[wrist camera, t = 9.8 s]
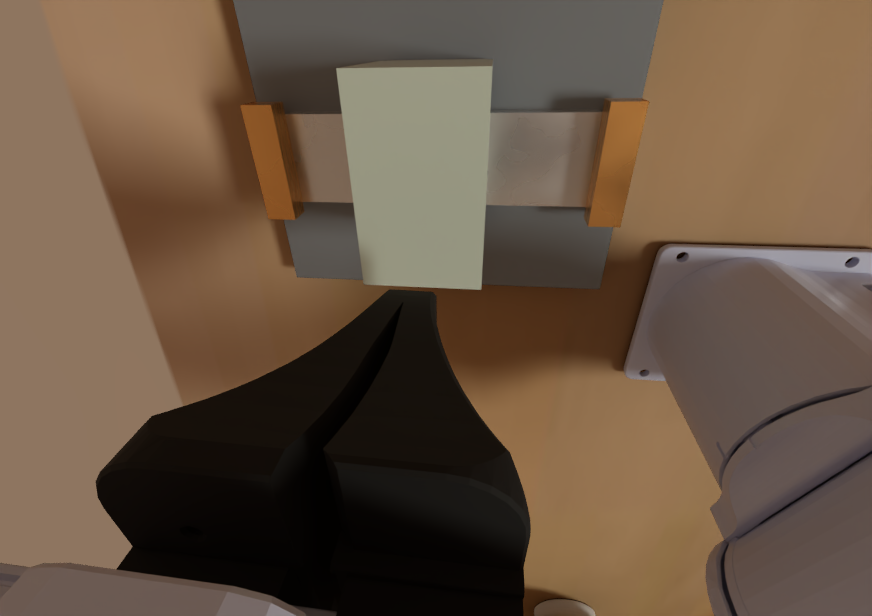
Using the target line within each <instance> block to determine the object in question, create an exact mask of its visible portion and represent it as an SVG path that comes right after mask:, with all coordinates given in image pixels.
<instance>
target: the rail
mask: <svg viewBox="0 0 872 616" xmlns="http://www.w3.org/2000/svg"><path fill="white" fill-rule="evenodd" d="M648 104H649V101H647V100H644V99H642V98H605V100H604V106H603V111H602V112H601V111H600V110H598V109H556V110H491V112H490V132H489V152H488V172H487V192H486V205H510V206H565V207H585V212H584V219H585V221H586V223H587V225H588V227H620V226H621V221H622V217H623V213H624V208H625V204H626V200H627V195H628V191H629V187H630V182H631V178H632V174H633V169H634V165H635V161H636V156H637V152H638V148H639V143H640V139H641V135H642V130H643V126H644V122H645V117H646V113H647V109H648ZM240 107H241V111H242V115H243V119H244V123H245V127H246V131H247V135H248V139H249V143H250V147H251V151H252V154H253V158H254V162H255V166H256V170H257V174H258V178H259V182H260V186H261V190H262V194H263V198H264V202H265V206H266V210H267V214H268V218H269V219H283V220H296V219H297V218H298V217H299V216H300V215H301V214H303V213H304V212H305V211H304V206H303V202H344V203H353V197H352V189H351V181H350V173H349V165H348V157H347V150H346V142H345V134H344V126H343V118H342V111H293V112H291V113H288V114H285V111H284V106H283V102H251V103H247V104H243V105H240Z"/></svg>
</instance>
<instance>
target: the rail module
mask: <svg viewBox="0 0 872 616" xmlns="http://www.w3.org/2000/svg"><path fill="white" fill-rule="evenodd" d="M336 71H337V79H338V87H339V95H340V103H341V110H342V118H343V126H344V134H345V142H346V150H347V157H348V165H349V173H350V181H351V189H352V197H353V204H354V212H355V220H356V228H357V236H358V244H359V252H360V259H361V267H362V275H363V283H364V285H386V286H408V287H430V288H452V289H474V290H481V286H482V268H483V250H484V232H485V212H486V192H487V172H488V152H489V132H490V112H491V91H492V71H493V59H488V58H487V59H421V60H387V61H376V62H370V63H364V64H358V65H353V66H347V67H341V68H336Z"/></svg>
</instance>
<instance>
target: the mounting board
mask: <svg viewBox="0 0 872 616" xmlns="http://www.w3.org/2000/svg"><path fill="white" fill-rule="evenodd" d="M233 2H234V7H235V11H236V15H237V20H238V24H239V28H240V33H241V37H242V41H243V46H244V50H245V54H246V59H247V63H248V67H249V72H250V76H251V80H252V85H253V89H254V93H255V98H256V102H283V106H284V111H285V114H288V113H291V112H293V111H342V110H341V103H340V95H339V87H338V79H337V71H336V68H341V67H347V66H353V65H358V64H364V63H370V62H376V61H387V60H421V59H487V58H488V59H493V71H492V91H491V110H556V109H598V110H600V111H601V112H602V111H603V106H604V100H605V98H642V95H643V91H644V86H645V82H646V77H647V73H648V68H649V64H650V59H651V55H652V50H653V46H654V41H655V37H656V32H657V28H658V23H659V19H660V14H661V9H662V5H663V0H233ZM303 206H304V211H305V212H304V213H303V214H301V215H300V216H299V217H298V218H297V219H296V220H284V223H285V227H286V232H287V236H288V240H289V245H290V249H291V253H292V258H293V262H294V266H295V271H296V275H297V277H304V278H329V279H354V280H363V275H362V267H361V259H360V252H359V244H358V236H357V228H356V220H355V212H354V204H353V203H344V202H303ZM584 212H585V207H565V206H510V205H486V212H485V232H484V250H483V268H482V285H506V286H531V287H556V288H581V289H600V285H601V280H602V276H603V271H604V267H605V262H606V258H607V253H608V249H609V244H610V240H611V235H612V231H613V227H588V225H587V223H586V221H585V219H584Z"/></svg>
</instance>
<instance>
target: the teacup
mask: <svg viewBox="0 0 872 616" xmlns="http://www.w3.org/2000/svg"><path fill="white" fill-rule="evenodd" d="M534 616H596V615H595V612H594V610H593V609H592V608H591V607H589V606H588V605H586V604H584V603H581V602H578V601H574V600H567V599H553V600H547V601H544V602H542V603H540V604H538V605H537V606H536V607H535V609H534Z"/></svg>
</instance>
